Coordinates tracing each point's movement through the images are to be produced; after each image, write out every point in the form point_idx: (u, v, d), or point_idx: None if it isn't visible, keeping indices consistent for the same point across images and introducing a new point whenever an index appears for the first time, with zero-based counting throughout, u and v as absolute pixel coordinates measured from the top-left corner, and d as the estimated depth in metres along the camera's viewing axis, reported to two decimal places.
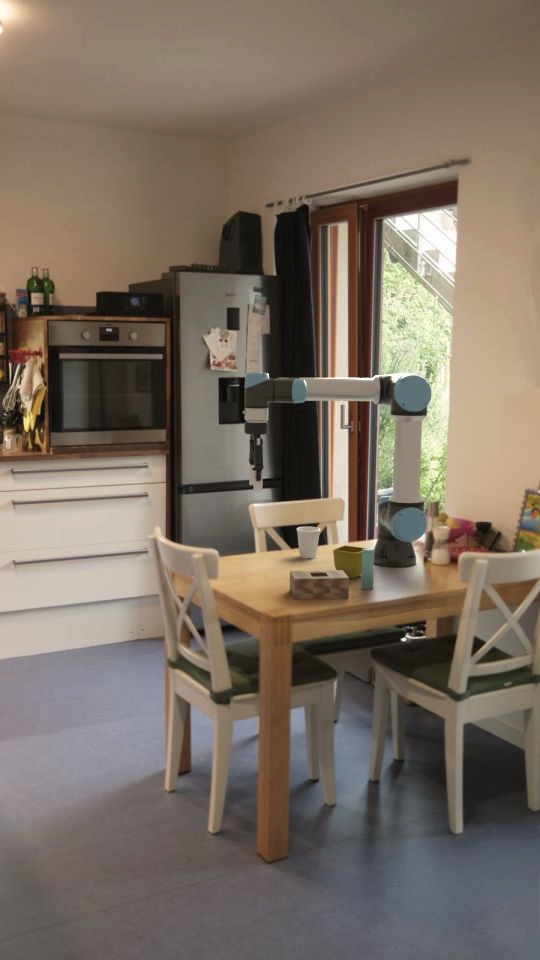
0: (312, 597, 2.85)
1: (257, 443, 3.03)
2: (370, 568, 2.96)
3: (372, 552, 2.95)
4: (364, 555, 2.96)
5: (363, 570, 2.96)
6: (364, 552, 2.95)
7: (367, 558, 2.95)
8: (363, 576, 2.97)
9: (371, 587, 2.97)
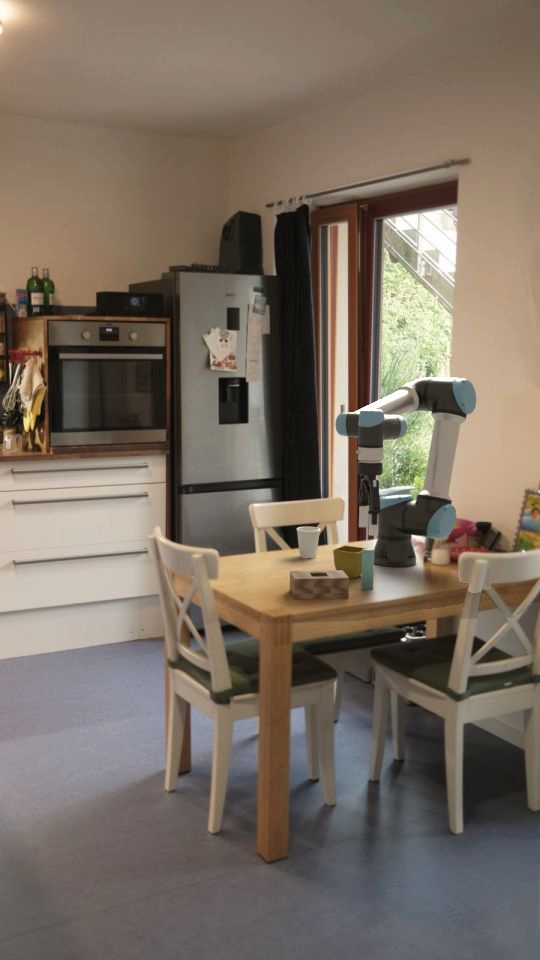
0: (312, 597, 2.85)
1: (373, 485, 2.87)
2: (370, 568, 2.96)
3: (372, 552, 2.95)
4: (364, 555, 2.96)
5: (363, 570, 2.96)
6: (364, 552, 2.95)
7: (367, 558, 2.95)
8: (363, 576, 2.97)
9: (371, 587, 2.97)
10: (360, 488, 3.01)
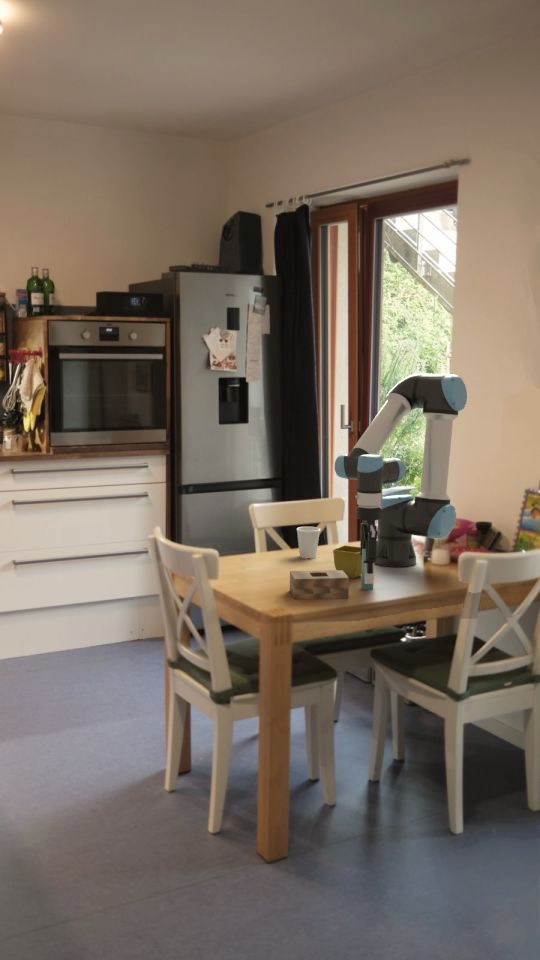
0: (312, 597, 2.85)
1: (372, 536, 2.90)
2: None
3: None
4: (364, 555, 2.96)
5: (363, 570, 2.96)
6: (364, 552, 2.95)
7: None
8: (363, 576, 2.97)
9: (371, 587, 2.97)
10: (361, 537, 3.01)
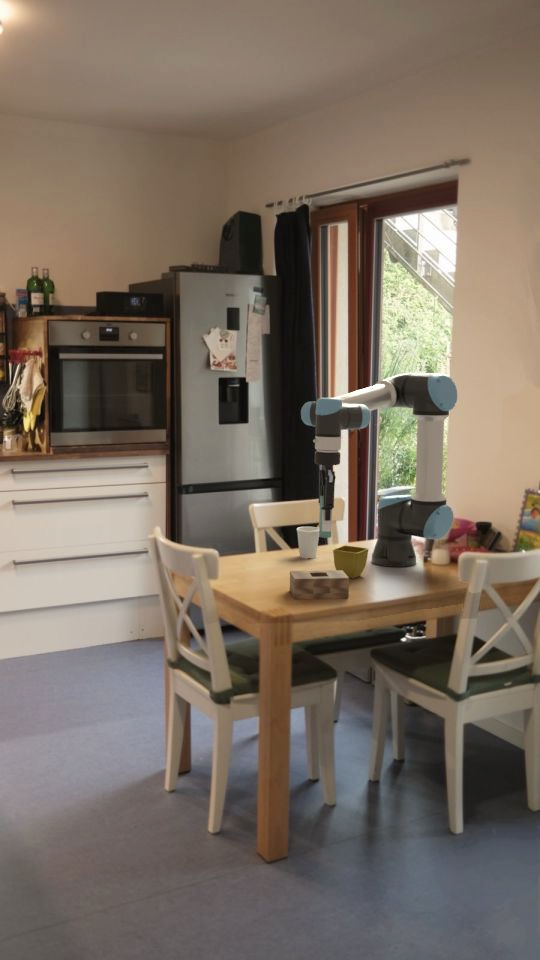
0: (312, 597, 2.85)
1: (329, 481, 2.80)
2: None
3: None
4: (321, 501, 2.86)
5: (321, 517, 2.87)
6: (322, 498, 2.86)
7: None
8: (321, 523, 2.87)
9: (329, 535, 2.87)
10: (319, 485, 2.91)
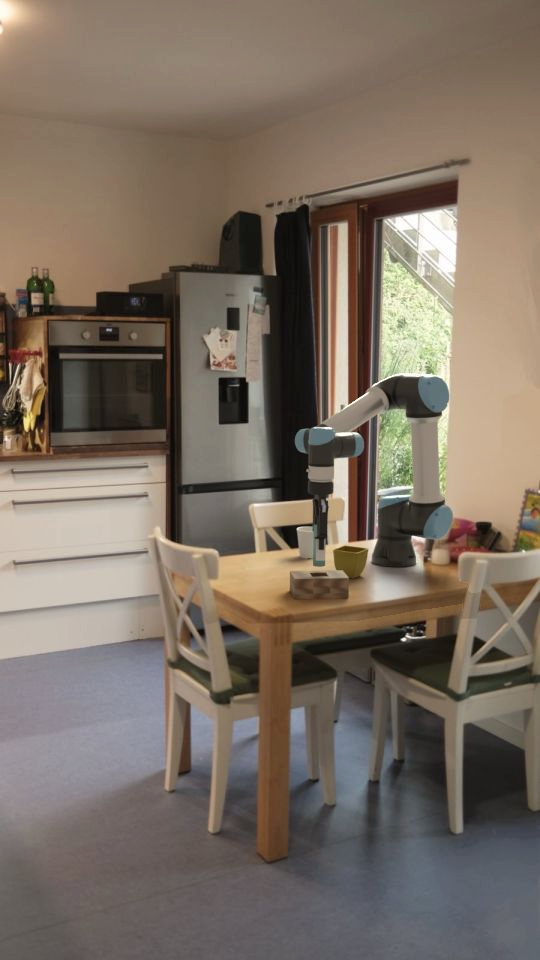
0: (312, 597, 2.85)
1: (322, 511, 2.81)
2: None
3: None
4: (315, 531, 2.87)
5: (315, 546, 2.87)
6: (315, 528, 2.86)
7: None
8: (314, 552, 2.88)
9: (323, 564, 2.88)
10: (313, 513, 2.92)
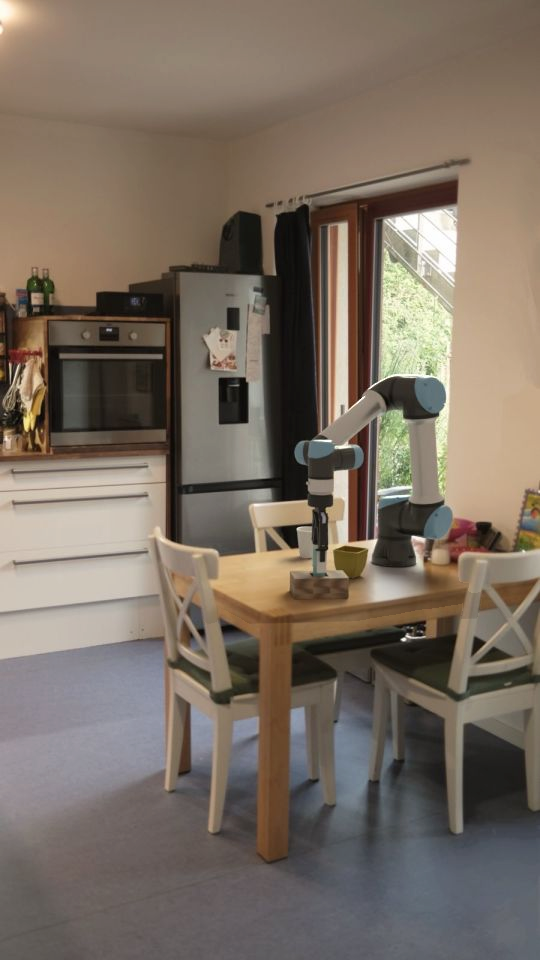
0: (312, 597, 2.85)
1: (322, 522, 2.81)
2: None
3: None
4: (315, 554, 2.88)
5: (315, 570, 2.88)
6: (315, 551, 2.88)
7: None
8: (314, 576, 2.89)
9: None
10: (312, 523, 2.93)
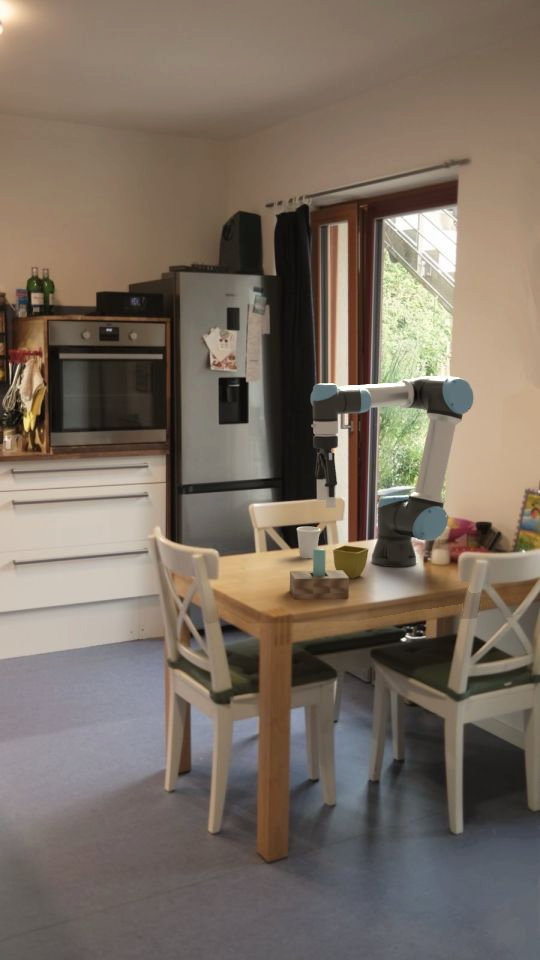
0: (312, 597, 2.85)
1: (329, 458, 2.91)
2: (322, 569, 2.88)
3: (323, 552, 2.87)
4: (315, 555, 2.88)
5: (315, 571, 2.88)
6: (315, 552, 2.87)
7: (318, 558, 2.87)
8: None
9: None
10: (317, 462, 3.05)
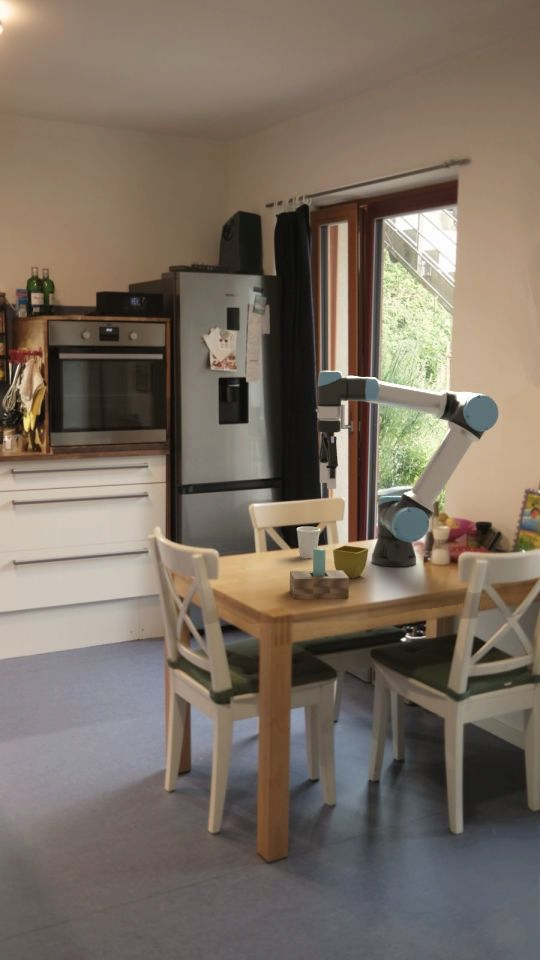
0: (312, 597, 2.85)
1: (331, 441, 3.05)
2: (322, 569, 2.88)
3: (323, 552, 2.87)
4: (315, 555, 2.88)
5: (315, 571, 2.88)
6: (315, 552, 2.87)
7: (318, 558, 2.87)
8: None
9: None
10: (320, 446, 3.19)
